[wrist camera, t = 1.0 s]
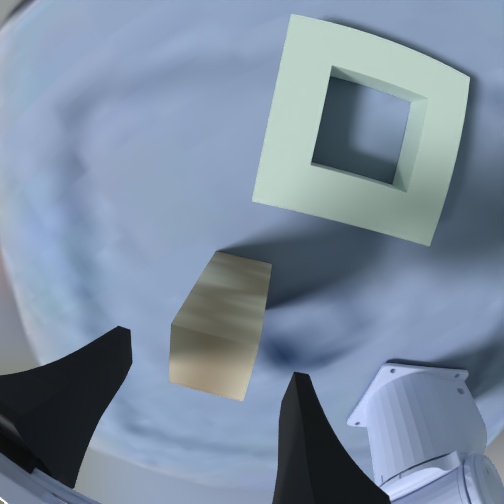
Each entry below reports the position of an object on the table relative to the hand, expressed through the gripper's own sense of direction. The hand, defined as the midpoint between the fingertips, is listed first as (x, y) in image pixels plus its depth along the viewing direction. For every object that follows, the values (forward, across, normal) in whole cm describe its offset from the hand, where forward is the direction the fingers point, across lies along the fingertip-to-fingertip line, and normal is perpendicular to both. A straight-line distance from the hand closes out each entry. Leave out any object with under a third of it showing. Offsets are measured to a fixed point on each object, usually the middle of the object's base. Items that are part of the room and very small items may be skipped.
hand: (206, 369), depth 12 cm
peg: (+8, 0, 0) cm, 8 cm away
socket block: (+8, -5, -11) cm, 15 cm away
